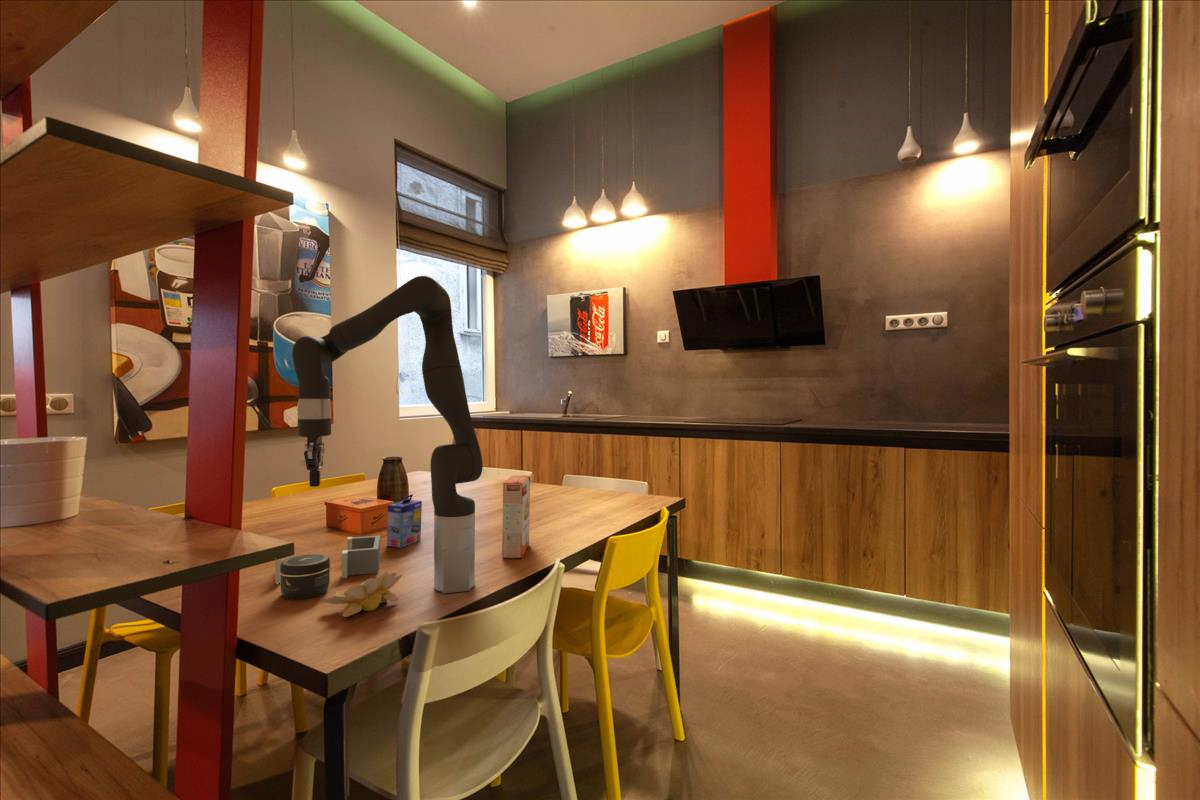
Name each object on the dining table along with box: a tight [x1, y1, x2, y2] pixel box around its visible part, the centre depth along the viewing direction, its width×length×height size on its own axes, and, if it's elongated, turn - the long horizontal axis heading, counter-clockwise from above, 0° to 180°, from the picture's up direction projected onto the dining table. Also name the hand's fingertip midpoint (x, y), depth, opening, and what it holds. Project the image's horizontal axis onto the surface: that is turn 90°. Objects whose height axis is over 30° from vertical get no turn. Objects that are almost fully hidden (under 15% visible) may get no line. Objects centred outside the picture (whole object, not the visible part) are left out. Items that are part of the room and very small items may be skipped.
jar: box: [280, 553, 331, 601], centre depth 127 cm, size 10×10×8 cm
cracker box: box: [501, 474, 531, 559], centre depth 160 cm, size 14×6×21 cm, turn 179°
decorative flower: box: [322, 571, 404, 618], centre depth 119 cm, size 15×11×10 cm
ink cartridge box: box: [386, 493, 423, 549], centre depth 168 cm, size 10×6×14 cm, turn 163°
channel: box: [274, 535, 381, 585], centre depth 143 cm, size 16×22×6 cm
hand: (315, 486), depth 141 cm, fingers closed
